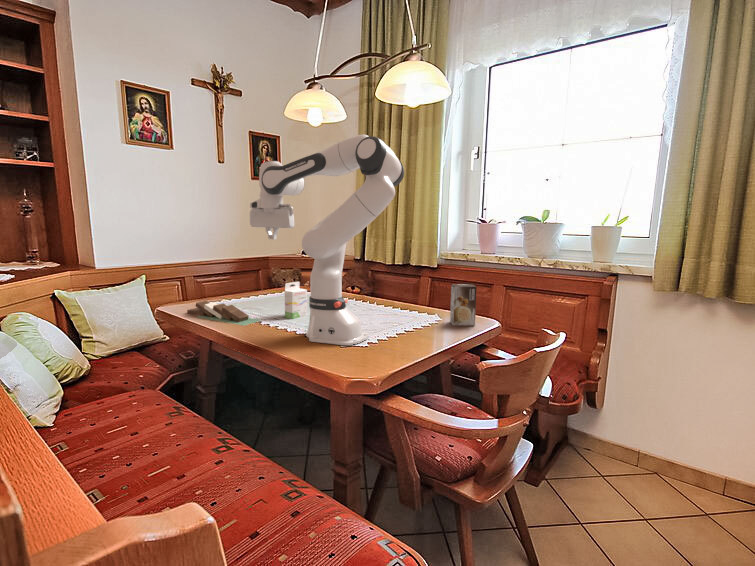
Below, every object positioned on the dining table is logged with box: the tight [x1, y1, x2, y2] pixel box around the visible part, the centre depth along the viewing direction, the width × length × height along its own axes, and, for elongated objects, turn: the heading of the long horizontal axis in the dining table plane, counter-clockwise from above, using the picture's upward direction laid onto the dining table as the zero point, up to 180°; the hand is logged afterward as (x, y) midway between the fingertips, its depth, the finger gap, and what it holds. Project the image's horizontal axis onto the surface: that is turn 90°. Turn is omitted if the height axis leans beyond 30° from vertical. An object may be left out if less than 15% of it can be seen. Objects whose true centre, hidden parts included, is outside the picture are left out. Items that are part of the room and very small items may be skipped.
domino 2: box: [195, 300, 216, 318], centre depth 169 cm, size 2×5×10 cm
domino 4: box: [221, 304, 250, 322], centre depth 162 cm, size 2×5×10 cm
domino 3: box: [213, 303, 234, 321], centre depth 164 cm, size 2×5×10 cm
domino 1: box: [186, 307, 207, 316], centre depth 171 cm, size 2×5×10 cm
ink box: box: [284, 281, 308, 320], centre depth 169 cm, size 9×5×15 cm, turn 143°
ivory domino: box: [204, 302, 225, 319], centre depth 166 cm, size 2×5×10 cm
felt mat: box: [197, 315, 262, 327], centre depth 164 cm, size 27×10×1 cm, turn 63°
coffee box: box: [449, 283, 478, 326], centre depth 162 cm, size 9×6×16 cm
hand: (272, 239), depth 160 cm, fingers closed
